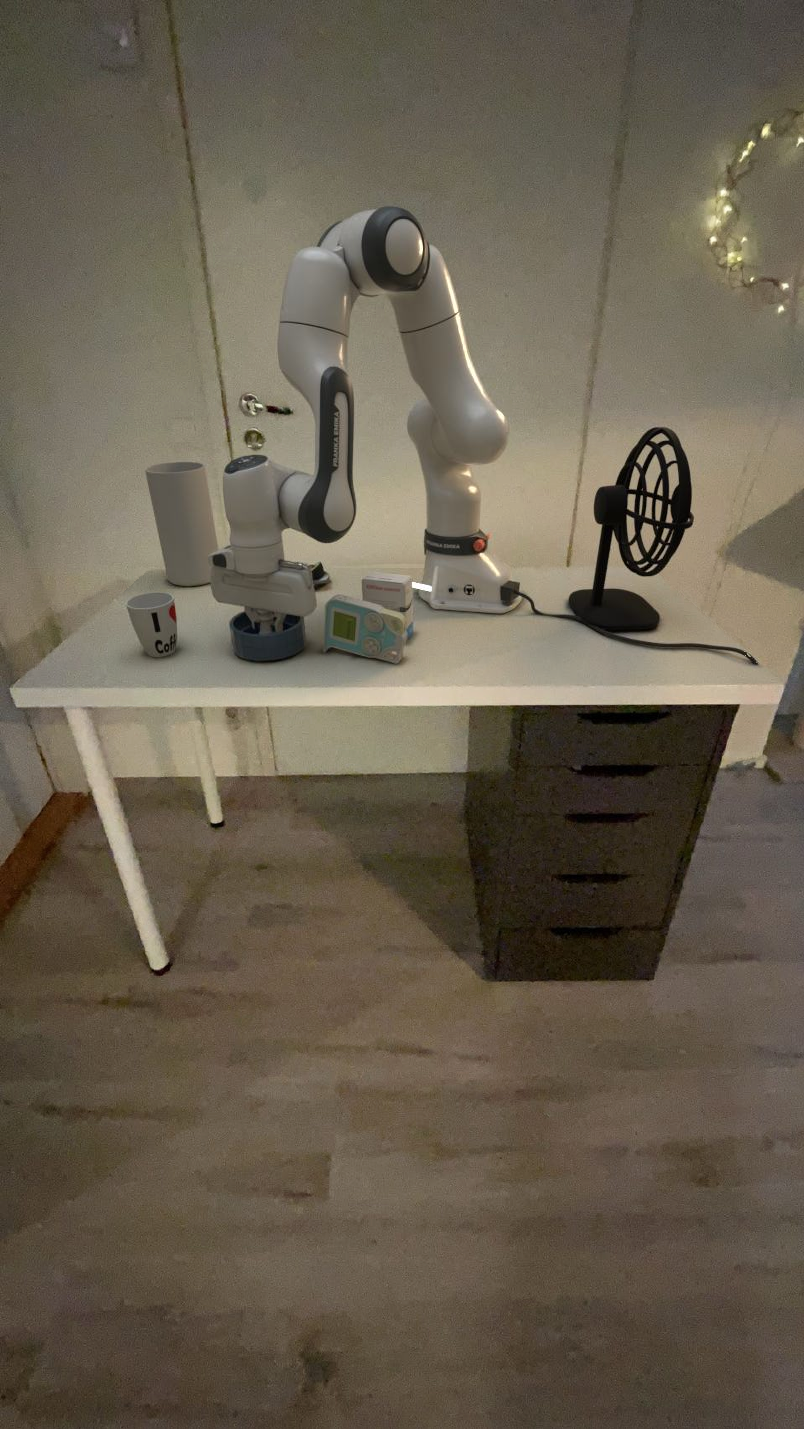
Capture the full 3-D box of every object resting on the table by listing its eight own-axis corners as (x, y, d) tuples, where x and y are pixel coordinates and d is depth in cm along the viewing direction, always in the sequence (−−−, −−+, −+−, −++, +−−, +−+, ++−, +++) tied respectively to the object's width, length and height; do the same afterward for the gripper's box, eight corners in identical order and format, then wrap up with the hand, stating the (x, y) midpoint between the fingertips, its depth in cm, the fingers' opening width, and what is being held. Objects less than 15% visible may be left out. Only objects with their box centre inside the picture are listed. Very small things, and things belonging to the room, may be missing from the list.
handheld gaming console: (397, 675, 116) (321, 652, 119) (403, 668, 118) (328, 646, 122) (405, 618, 110) (325, 596, 113) (411, 612, 112) (332, 591, 115)
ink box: (414, 633, 126) (413, 574, 120) (405, 643, 122) (405, 583, 116) (373, 627, 129) (370, 570, 123) (363, 637, 125) (360, 578, 119)
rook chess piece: (276, 650, 119) (271, 609, 115) (253, 648, 120) (248, 608, 116) (285, 640, 123) (280, 600, 119) (263, 638, 124) (257, 598, 120)
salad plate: (265, 606, 139) (263, 585, 136) (230, 583, 151) (227, 564, 149) (342, 586, 149) (341, 566, 146) (303, 566, 161) (301, 547, 159)
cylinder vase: (222, 584, 151) (203, 471, 138) (165, 589, 148) (141, 474, 135) (222, 567, 161) (205, 460, 148) (170, 571, 159) (148, 463, 146)
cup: (158, 664, 116) (146, 612, 111) (128, 654, 120) (115, 603, 115) (193, 647, 122) (183, 597, 117) (163, 638, 126) (152, 589, 121)
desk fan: (687, 639, 122) (734, 439, 104) (595, 642, 122) (627, 442, 103) (634, 588, 146) (666, 417, 127) (557, 590, 145) (577, 419, 126)
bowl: (319, 639, 125) (317, 612, 122) (281, 669, 114) (277, 640, 111) (260, 628, 129) (257, 602, 126) (218, 656, 119) (214, 628, 116)
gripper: (319, 558, 112) (325, 632, 119) (221, 545, 119) (233, 616, 126) (300, 569, 107) (308, 646, 114) (199, 555, 114) (212, 628, 121)
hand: (267, 630), depth 120 cm, fingers closed on rook chess piece, 3 cm apart
